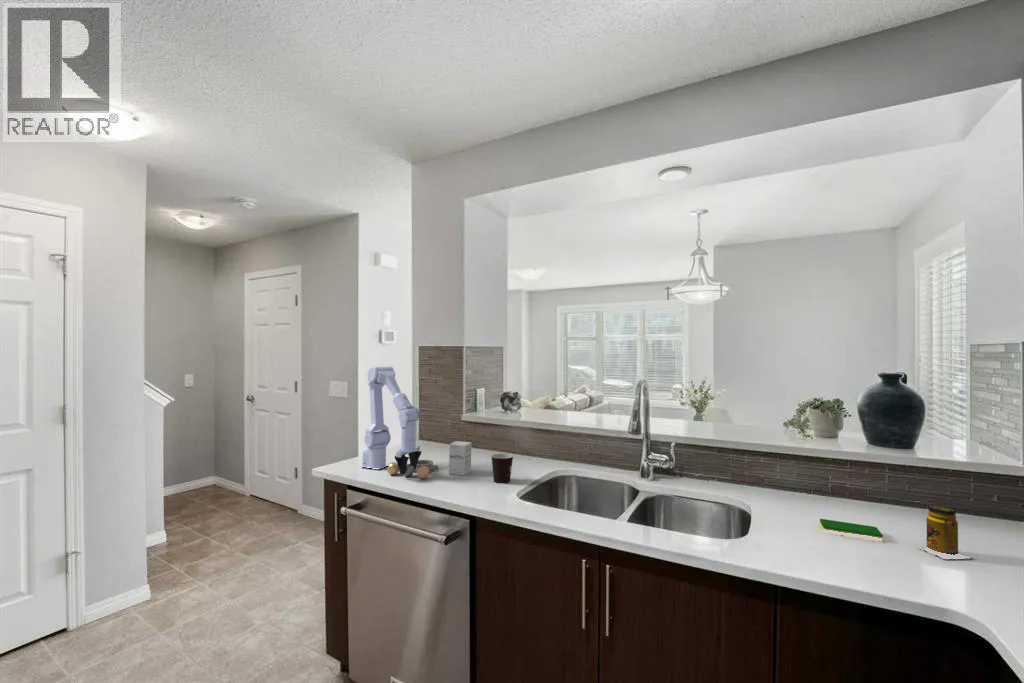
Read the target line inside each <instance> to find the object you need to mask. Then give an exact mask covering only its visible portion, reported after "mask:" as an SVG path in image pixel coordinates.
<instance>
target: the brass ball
mask: <svg viewBox="0 0 1024 683" xmlns="http://www.w3.org/2000/svg"><path fill="white" fill-rule="evenodd" d="M386 471H387V473H388V474H389V475H391V474H392V475H391V476H395V475H397V474H398V473H400V471H399V467H398V464H397V462H396V461H395V462H394V461H393V462H390V463H389V464H388V467H386ZM394 474H395V475H394Z"/></svg>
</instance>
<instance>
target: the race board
mask: <svg viewBox="0 0 1024 683" xmlns="http://www.w3.org/2000/svg"><path fill="white" fill-rule="evenodd" d="M420 466H426V467H428V469H429V472H430V473H432V472H433V470H434V471H435V469H436V470H438V469H439V465H437V464H434V461H432V460H430V459H429V460H428V459H418V462H417V466H416V469H414V472H417V469H418V468H419V467H420ZM437 468H438V469H437ZM431 471H432V472H431Z"/></svg>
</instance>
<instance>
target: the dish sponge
mask: <svg viewBox="0 0 1024 683" xmlns="http://www.w3.org/2000/svg"><path fill="white" fill-rule="evenodd" d="M820 523H821V525H822V527H823V529H826V530H833V531H838V532H844V533H852V534H859V535H867V536H872V537H878V538H883V539H884V537H883V536H884V535H883V534H882V532H881V531H880V529H878V527H877V526H871V525H865V524H860V523H859V524H858V523H852V522H847V521H846V522H845V521H839V520H832V519H825V518H819V524H820Z"/></svg>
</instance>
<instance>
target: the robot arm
mask: <svg viewBox="0 0 1024 683" xmlns="http://www.w3.org/2000/svg"><path fill="white" fill-rule="evenodd" d="M367 385H368V387H369V388H368V390H369V406H370V425H369V426H368V427H367V428H366V429H365V434H364V444H365V445H366V446H365V447H364V448H363V451H362V463H361V464H362V466H364V467H370V468H379V469H380V468H383V469H385V468H384V467H385V466H386V464H387V447H388V445H389V444H390V442H391V433H390V430H389V427H388V426H387V425H386V424H385V422H384V402H383V401H384V400H383V388H384V386H386V387H387V389H388V390H389V392H390V393H391V395H392V396H393V399H392V403H393V404H394V406H395V408H396V409H397V411H398V419H399V422H400V423H399V424H400V427H401V433H400V434H401V437H400V438H401V441H400V442H401V444H400V447H401V448H400V449H399V450H398V451H396V452H395V456H394V460H395V463H397V464H398V467H399V474H401V475H403V474H405V473H406V467H407V464H408V462H409V464H411V465H412V466H413V467H414V469H416V466H417V462H418V460H420V456H421V454H422V450H420V449H421V446H420V445H419V444H417V443H416V442H417V441H416V440H417V433H416V432H417V422H418V420H420V411H419V409H418V408H417V407H415V405H412V403H411V402H410V399H409V398H408V396H407V395H406V393H403V392H402V391H401V389H400V386H399V385H398V383H397V380H396V371H395V370H394V367H393V366H391V365H387V366H384V365H383V366H374V365H373V366H371V367H370V368H369V369H368V371H367ZM407 455H408V456H407ZM362 466H361V467H362Z"/></svg>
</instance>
